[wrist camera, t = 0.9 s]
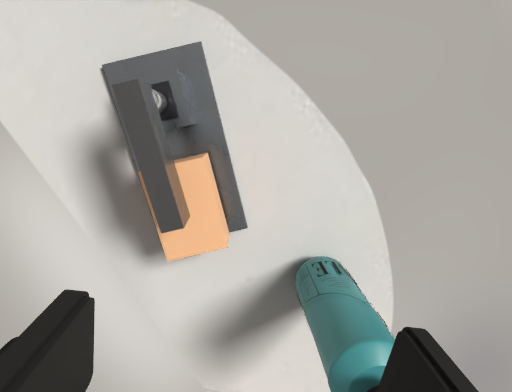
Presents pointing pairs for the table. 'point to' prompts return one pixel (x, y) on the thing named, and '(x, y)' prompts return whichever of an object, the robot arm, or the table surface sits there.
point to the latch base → (186, 114)
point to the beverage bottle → (343, 326)
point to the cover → (195, 211)
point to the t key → (153, 151)
